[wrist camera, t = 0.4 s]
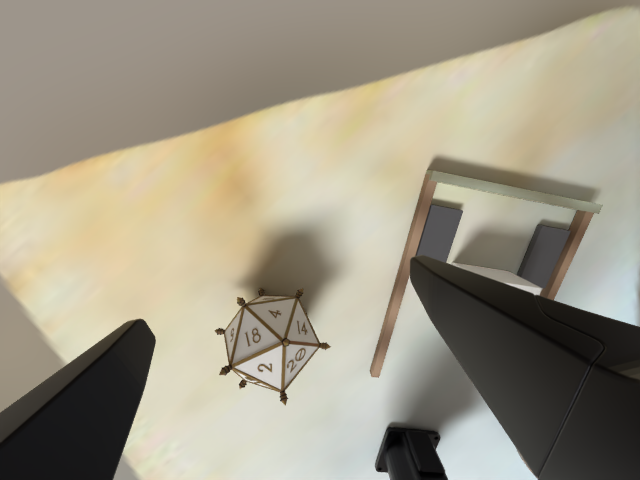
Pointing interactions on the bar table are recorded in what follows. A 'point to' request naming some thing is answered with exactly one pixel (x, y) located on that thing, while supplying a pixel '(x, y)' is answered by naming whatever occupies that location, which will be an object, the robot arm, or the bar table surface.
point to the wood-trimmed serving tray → (432, 177)
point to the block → (502, 277)
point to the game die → (270, 341)
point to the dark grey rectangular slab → (535, 262)
